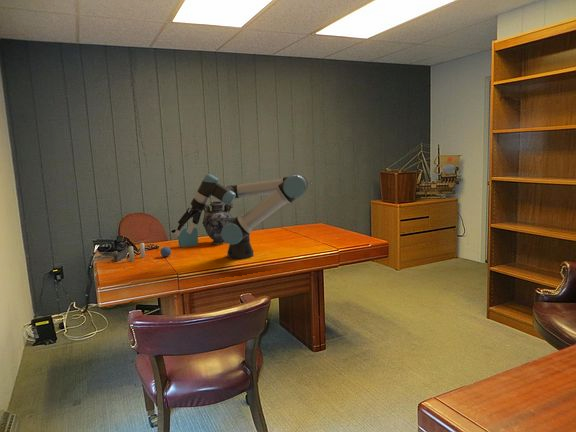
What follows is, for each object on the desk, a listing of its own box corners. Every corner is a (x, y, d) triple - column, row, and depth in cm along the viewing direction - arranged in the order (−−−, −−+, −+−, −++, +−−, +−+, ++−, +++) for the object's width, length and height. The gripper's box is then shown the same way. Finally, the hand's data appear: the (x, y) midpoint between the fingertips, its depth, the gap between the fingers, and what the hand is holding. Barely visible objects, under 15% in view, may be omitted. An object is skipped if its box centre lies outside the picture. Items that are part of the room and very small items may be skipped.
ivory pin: (145, 256, 254) (144, 242, 253) (144, 257, 252) (143, 243, 251) (142, 256, 254) (140, 242, 253) (140, 257, 252) (139, 243, 251)
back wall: (132, 253, 264) (131, 247, 263) (117, 261, 244) (117, 255, 243) (128, 253, 264) (128, 247, 263) (114, 261, 244) (113, 255, 243)
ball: (172, 255, 255) (172, 245, 254) (169, 257, 249) (168, 247, 249) (163, 255, 256) (162, 245, 255) (159, 258, 250) (158, 248, 249)
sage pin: (134, 260, 246) (133, 246, 244) (133, 261, 243) (131, 247, 242) (130, 260, 246) (129, 246, 245) (129, 261, 243) (127, 247, 242)
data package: (196, 244, 287) (195, 226, 285) (198, 245, 283) (197, 227, 281) (178, 246, 281) (177, 228, 279) (180, 247, 277) (179, 229, 275)
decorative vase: (233, 238, 300) (230, 199, 295) (237, 244, 282) (234, 202, 278) (202, 241, 294) (199, 201, 290) (204, 247, 276) (201, 204, 272)
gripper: (204, 197, 244) (187, 228, 247) (183, 197, 220) (165, 232, 223) (214, 203, 242) (198, 235, 246) (195, 205, 218) (176, 239, 222)
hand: (182, 234), depth 235 cm, fingers open, 13 cm apart
